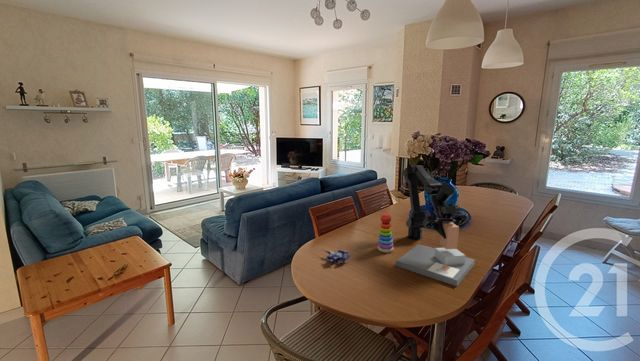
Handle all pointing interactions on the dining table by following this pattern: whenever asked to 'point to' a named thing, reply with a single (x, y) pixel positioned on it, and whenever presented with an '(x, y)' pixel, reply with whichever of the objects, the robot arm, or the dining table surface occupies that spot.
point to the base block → (449, 256)
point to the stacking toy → (385, 235)
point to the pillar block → (450, 236)
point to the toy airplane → (337, 256)
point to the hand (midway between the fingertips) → (451, 238)
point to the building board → (434, 265)
